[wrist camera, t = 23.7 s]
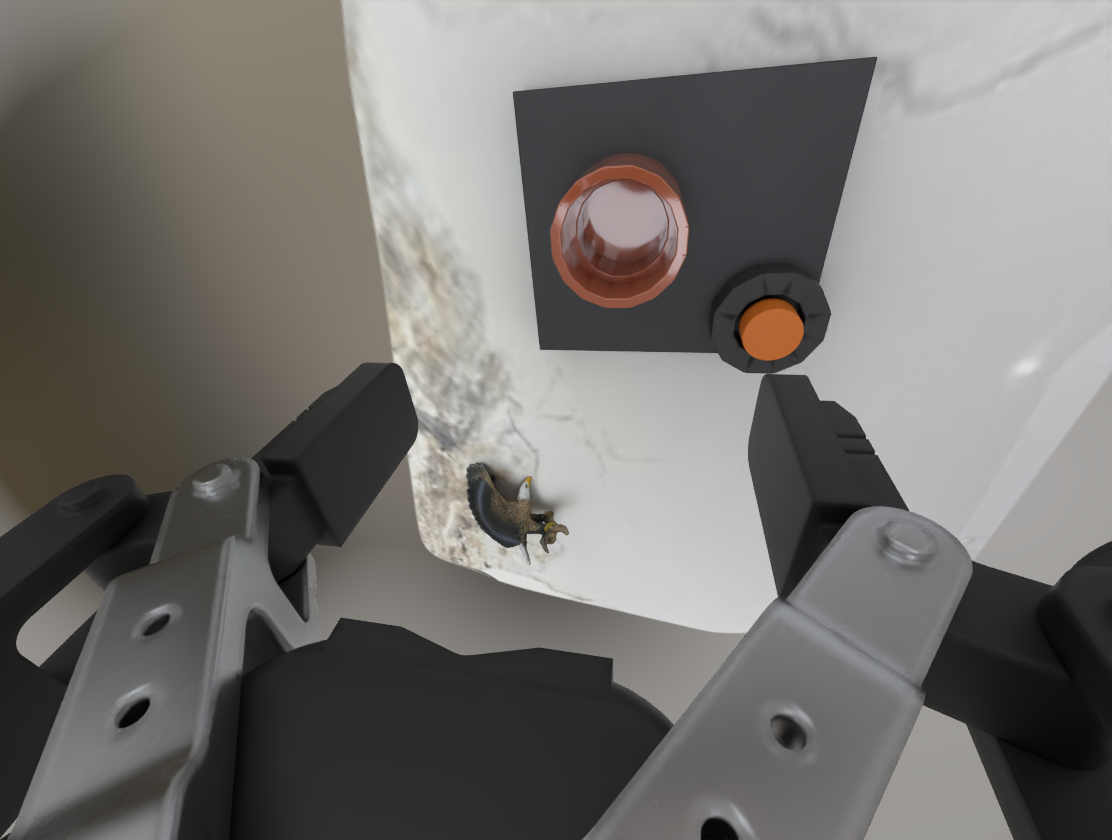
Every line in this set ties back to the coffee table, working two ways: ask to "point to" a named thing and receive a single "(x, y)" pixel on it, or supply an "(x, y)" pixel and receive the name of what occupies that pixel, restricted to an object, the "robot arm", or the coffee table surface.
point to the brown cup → (621, 231)
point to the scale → (702, 198)
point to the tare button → (771, 329)
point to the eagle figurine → (508, 513)
